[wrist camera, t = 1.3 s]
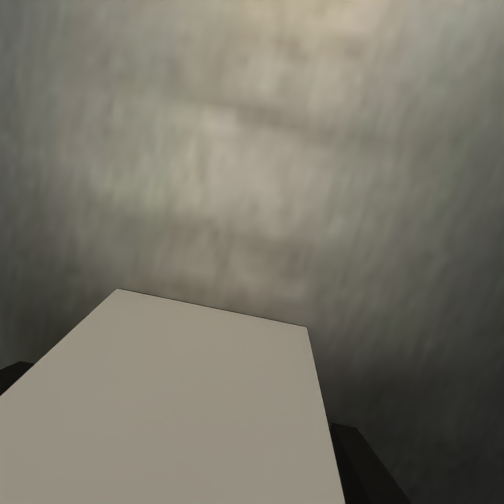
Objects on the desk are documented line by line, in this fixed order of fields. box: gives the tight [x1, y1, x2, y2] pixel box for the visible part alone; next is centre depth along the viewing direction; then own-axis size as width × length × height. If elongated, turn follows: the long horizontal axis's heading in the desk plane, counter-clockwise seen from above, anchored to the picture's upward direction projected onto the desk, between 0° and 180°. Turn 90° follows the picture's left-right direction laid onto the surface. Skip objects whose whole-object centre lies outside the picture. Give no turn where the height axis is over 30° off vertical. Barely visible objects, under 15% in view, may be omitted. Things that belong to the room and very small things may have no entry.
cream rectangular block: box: [0, 289, 345, 504], centre depth 7 cm, size 5×5×7 cm
